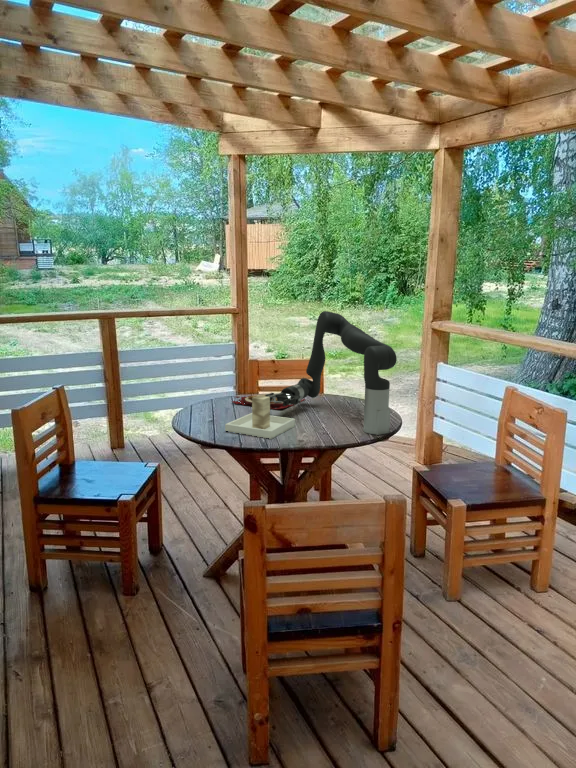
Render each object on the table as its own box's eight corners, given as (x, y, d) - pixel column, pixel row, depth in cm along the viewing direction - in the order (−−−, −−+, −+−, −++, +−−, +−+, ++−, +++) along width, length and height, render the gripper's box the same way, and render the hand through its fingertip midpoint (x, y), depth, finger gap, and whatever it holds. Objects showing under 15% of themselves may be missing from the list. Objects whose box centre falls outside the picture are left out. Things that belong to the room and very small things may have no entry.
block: (269, 426, 216) (269, 396, 213) (263, 429, 211) (263, 399, 209) (258, 425, 218) (258, 395, 216) (252, 428, 214) (252, 398, 211)
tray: (295, 426, 219) (295, 418, 218) (271, 439, 202) (271, 431, 201) (252, 419, 228) (251, 412, 227) (225, 431, 211) (225, 424, 210)
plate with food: (281, 412, 243) (282, 404, 242) (231, 404, 255) (231, 396, 254) (305, 402, 265) (306, 395, 264) (258, 395, 276) (258, 388, 276)
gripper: (277, 384, 239) (259, 391, 225) (307, 387, 233) (290, 395, 219) (277, 401, 241) (259, 409, 227) (307, 404, 235) (290, 413, 220)
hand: (274, 402), depth 223 cm, fingers open, 8 cm apart
